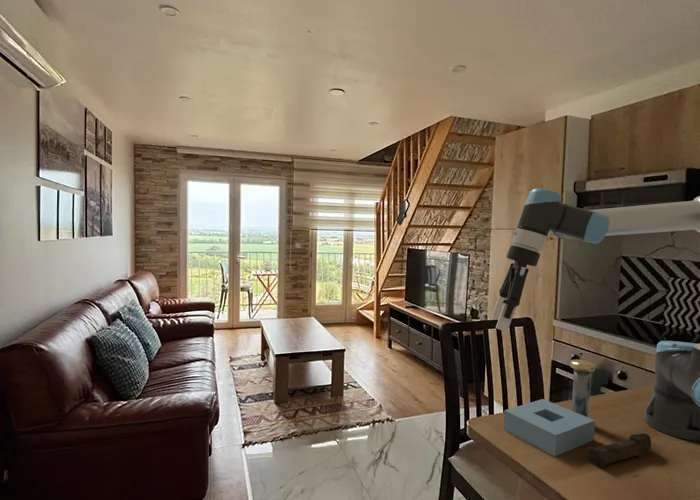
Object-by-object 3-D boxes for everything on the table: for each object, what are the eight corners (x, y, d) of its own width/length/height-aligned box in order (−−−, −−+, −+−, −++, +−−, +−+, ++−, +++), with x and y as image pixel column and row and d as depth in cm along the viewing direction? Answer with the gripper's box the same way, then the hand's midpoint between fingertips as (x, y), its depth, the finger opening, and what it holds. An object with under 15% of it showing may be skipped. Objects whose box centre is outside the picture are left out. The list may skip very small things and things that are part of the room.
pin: (596, 425, 105) (599, 364, 104) (584, 429, 102) (587, 367, 102) (575, 416, 110) (578, 358, 109) (563, 420, 107) (566, 361, 107)
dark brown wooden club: (601, 471, 84) (603, 450, 84) (585, 461, 88) (586, 441, 88) (662, 458, 90) (663, 438, 90) (644, 449, 94) (646, 430, 94)
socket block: (594, 440, 97) (595, 420, 97) (554, 456, 89) (555, 435, 89) (542, 416, 109) (543, 398, 109) (503, 429, 101) (504, 410, 101)
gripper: (505, 243, 114) (481, 311, 117) (518, 244, 90) (487, 329, 93) (532, 251, 113) (507, 320, 115) (552, 254, 88) (520, 341, 91)
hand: (498, 324), depth 104 cm, fingers open, 13 cm apart
